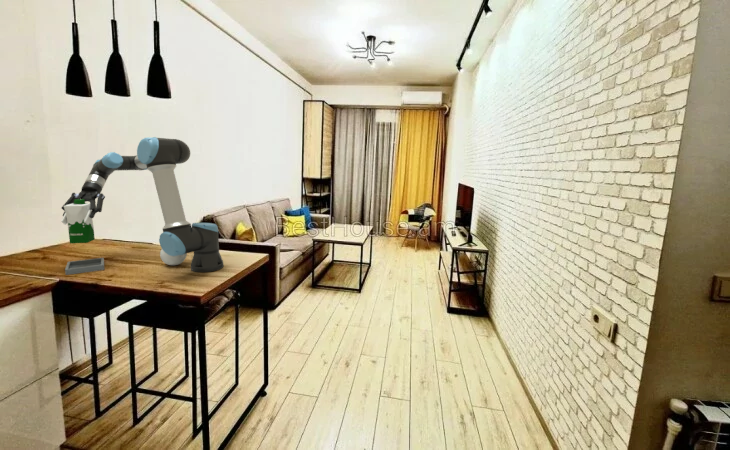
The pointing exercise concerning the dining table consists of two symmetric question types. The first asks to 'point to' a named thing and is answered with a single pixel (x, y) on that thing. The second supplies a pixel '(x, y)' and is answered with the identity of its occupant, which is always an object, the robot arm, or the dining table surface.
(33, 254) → the dining table surface
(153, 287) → the dining table surface
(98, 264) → the holder tray
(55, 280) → the dining table surface
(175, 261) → the decorative ball
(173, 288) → the dining table surface
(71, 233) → the soya milk
